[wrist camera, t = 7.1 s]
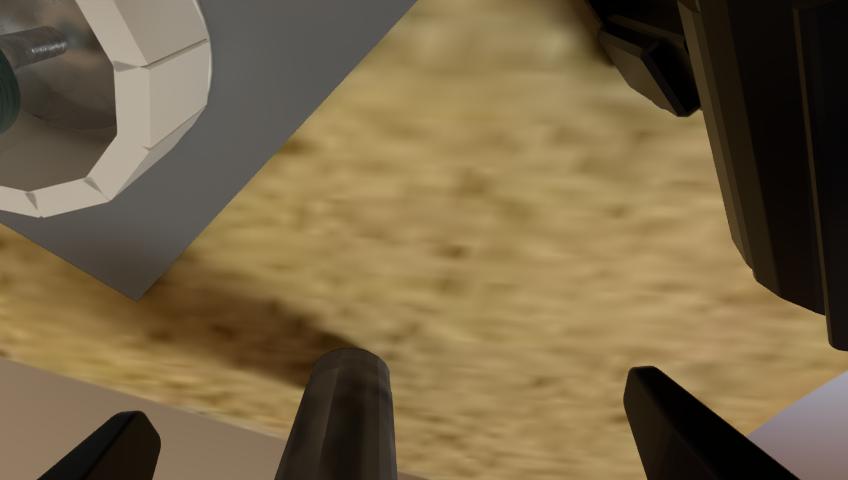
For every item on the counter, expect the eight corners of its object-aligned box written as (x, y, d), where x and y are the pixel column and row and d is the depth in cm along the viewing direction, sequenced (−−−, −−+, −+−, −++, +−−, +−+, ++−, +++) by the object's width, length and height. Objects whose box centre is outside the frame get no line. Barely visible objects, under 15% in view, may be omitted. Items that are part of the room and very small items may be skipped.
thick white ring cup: (-5, -215, 13) (-205, -294, 9) (263, 37, 17) (214, 68, 12) (-122, 60, 17) (-302, 99, 12) (118, 217, 20) (42, 287, 16)
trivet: (-31, -571, 10) (-50, -593, 10) (429, -14, 16) (429, -14, 16) (-233, 73, 17) (-250, 77, 17) (141, 295, 23) (136, 301, 23)
